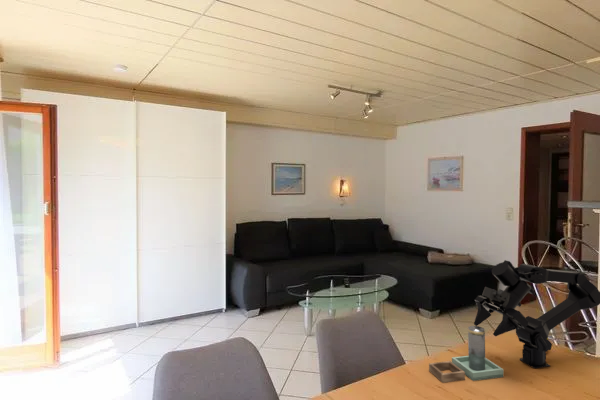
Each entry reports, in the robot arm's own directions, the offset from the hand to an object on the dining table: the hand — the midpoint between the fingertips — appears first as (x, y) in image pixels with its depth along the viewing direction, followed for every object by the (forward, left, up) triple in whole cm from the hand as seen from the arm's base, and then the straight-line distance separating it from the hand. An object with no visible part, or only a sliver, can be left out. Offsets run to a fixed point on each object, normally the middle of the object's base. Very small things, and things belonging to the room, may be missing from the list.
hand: (484, 330), depth 121 cm
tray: (+3, 0, -13) cm, 14 cm away
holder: (+14, +1, -13) cm, 20 cm away
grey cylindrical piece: (+3, 0, -12) cm, 13 cm away
